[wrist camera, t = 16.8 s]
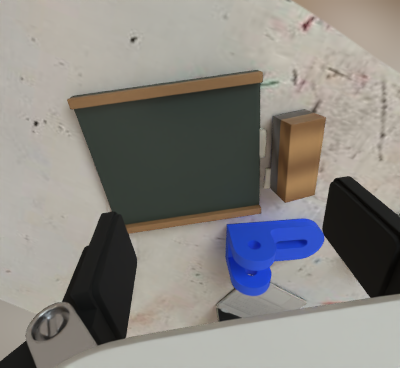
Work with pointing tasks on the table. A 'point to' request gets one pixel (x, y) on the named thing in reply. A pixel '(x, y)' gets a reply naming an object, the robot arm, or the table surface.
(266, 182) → the off-white bar
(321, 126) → the eraser
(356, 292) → the table surface
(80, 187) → the table surface
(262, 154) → the chalk stroke
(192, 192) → the slate board
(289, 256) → the bracket
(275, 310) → the laptop
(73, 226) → the table surface
